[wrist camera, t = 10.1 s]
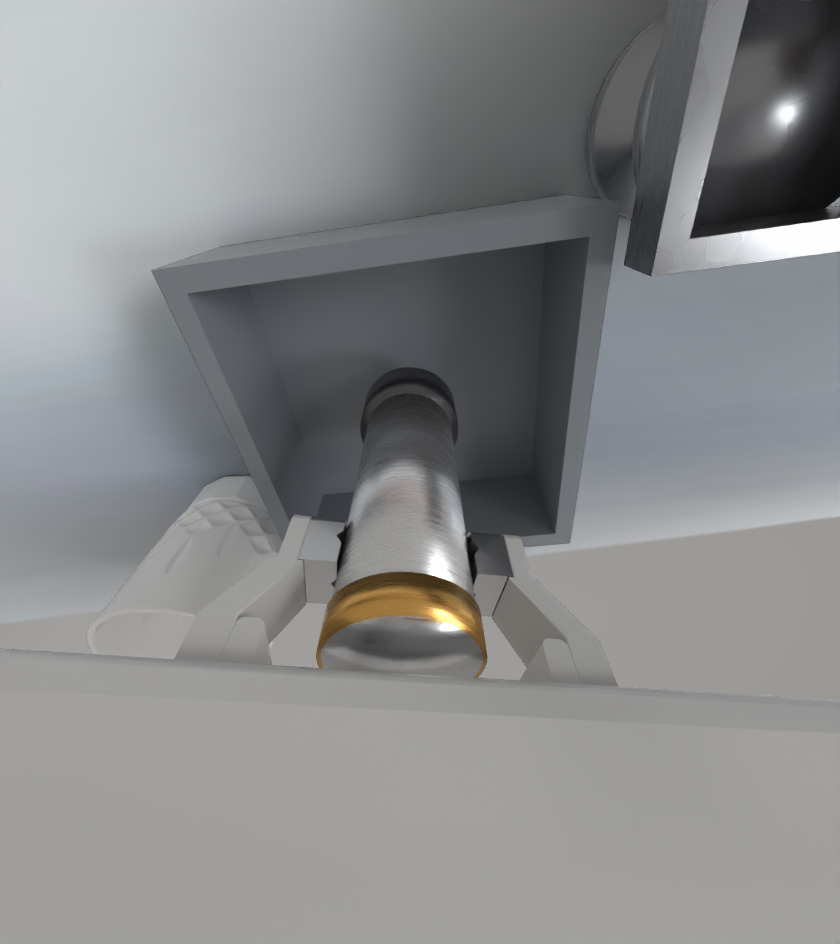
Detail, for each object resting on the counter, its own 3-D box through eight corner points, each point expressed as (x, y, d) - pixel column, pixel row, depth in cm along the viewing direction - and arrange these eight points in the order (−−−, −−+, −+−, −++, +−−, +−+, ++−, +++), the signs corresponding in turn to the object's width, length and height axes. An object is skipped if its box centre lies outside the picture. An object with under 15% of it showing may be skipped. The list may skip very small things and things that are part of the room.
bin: (564, 194, 16) (621, 200, 11) (542, 476, 25) (570, 543, 20) (221, 246, 17) (151, 270, 13) (316, 499, 26) (294, 567, 21)
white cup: (164, 480, 25) (42, 625, 17) (278, 454, 24) (206, 596, 16) (230, 561, 29) (160, 704, 21) (328, 542, 28) (293, 686, 20)
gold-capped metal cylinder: (367, 361, 17) (302, 598, 7) (462, 373, 17) (519, 615, 8) (363, 442, 19) (309, 699, 10) (446, 452, 20) (473, 708, 10)
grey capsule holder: (807, -35, 12) (1181, -241, 6) (732, 218, 16) (916, 240, 10) (588, 5, 13) (739, -150, 7) (567, 241, 17) (651, 276, 11)
